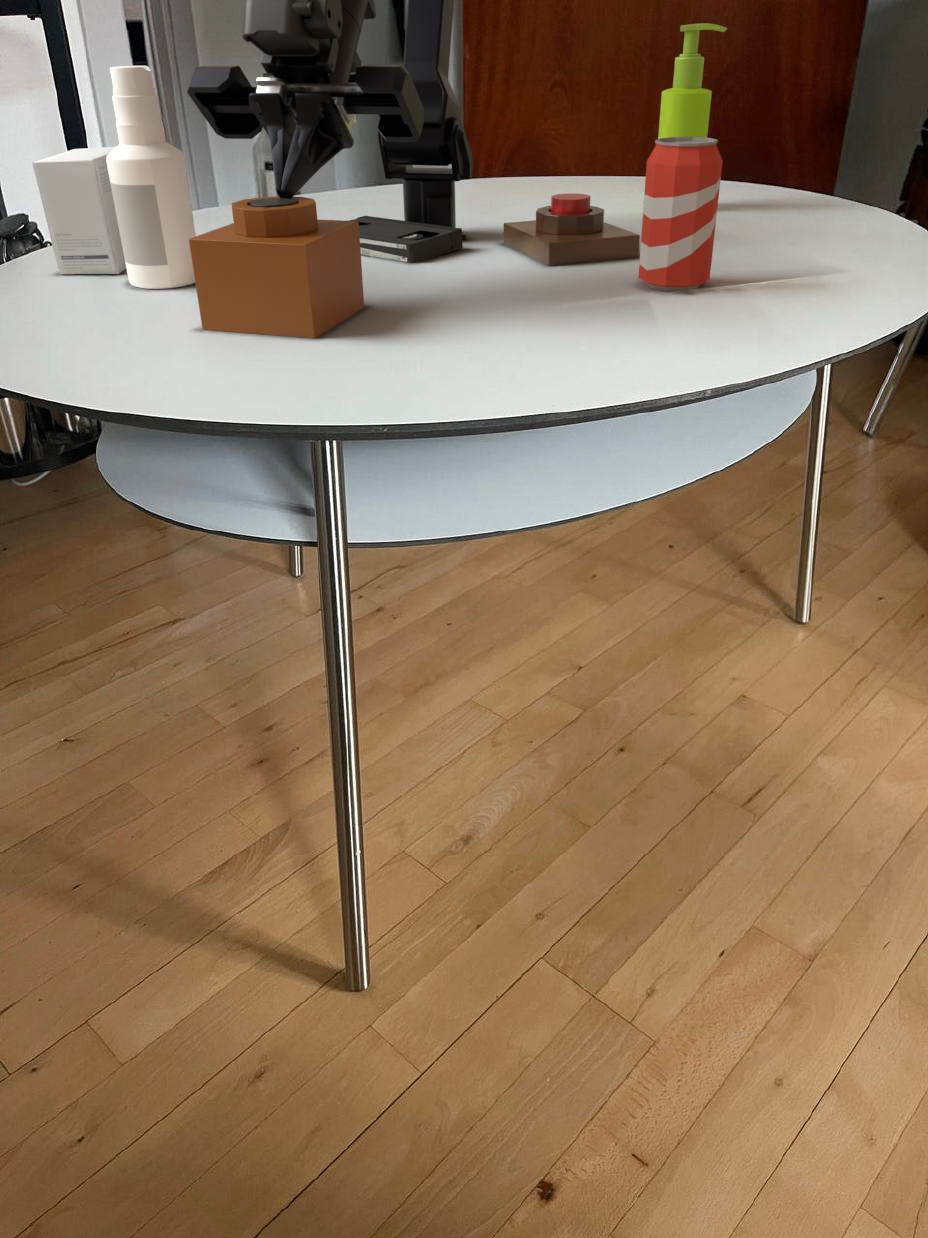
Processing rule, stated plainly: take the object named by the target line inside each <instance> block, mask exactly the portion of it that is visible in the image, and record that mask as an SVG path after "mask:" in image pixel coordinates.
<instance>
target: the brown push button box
mask: <svg viewBox="0 0 928 1238" xmlns="http://www.w3.org/2000/svg"><path fill="white" fill-rule="evenodd" d="M265 198H280V197H279V196H278V195H276V196H259V197H252V198H244V199H241V200H238V201H235V202H232V203H231V213H232V219H233V220H232V221H233V222H232V223H230V224H229V223H228V224H227V225H223V226H221V227H218V228H216V229H213V230H210V231H207V232H205V233H202V234H199V235H196V237H193V238H190V239H189V244H190V251H191V257H192V264H193V270H194V277H195V283H194V284H195V289H196V296H197V303H198V309H199V315H200V321H201V328H202V330H203V331H215V332H226V333H227V332H228V333H240V334H253V335H265V336H278V337H279V336H280V337H289V338H290V337H291V338H304V339H316V338H318V337H320V336H321V335H322V334H325V333H326V332H327V331H329V330H331V329H333V328H334V327H335V326H337V325H338V324H341V323H342V322H343V321H345V320H347V319H348V318H350V317H351V316H353V315H355V314H356V313H357V312H359V311H361V310H362V309H364V308H365V297H364V296H365V295H364V282H363V281H364V280H363V266H362V256H361V250H360V235H359V222H358V221H349V220H339V219H337V220H336V219H318V210H317V202H316V200H315V199H314V198H311V197H306V196H293V197H292V198H291V199H295V200H296V201H297V204H295V205H290V206H283V207H253V206H251V205H250V203H251V202H252V201H254V200H258V199H265Z"/></svg>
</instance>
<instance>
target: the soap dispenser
mask: <svg viewBox="0 0 928 1238" xmlns="http://www.w3.org/2000/svg"><path fill="white" fill-rule="evenodd" d="M727 30H728V27H726V26H723V25H720V24H714V23H706V22H705V23H704V22H703V23H701V22H700V23H690V24H683V25H680V29H679V31H680V33H681V32H684V38H683V48H682V53H680V54H679V56H676V57H674V67H673V68H674V69H673V82H672V87H671V88H667V89H664V90H662V91H661V98H660V111H659V123H658V136H657V139H659V138H669V137H704V138H708V133H709V122H710V112H711V103H712V94H713V91H712V90H710V89H708V88H703V78H704V66H705V65H704V64H705V57H704V56H702V55H701V53H698V52H699V42H700V32H701V31H717V32H721V33H725V32H726V31H727Z"/></svg>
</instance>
